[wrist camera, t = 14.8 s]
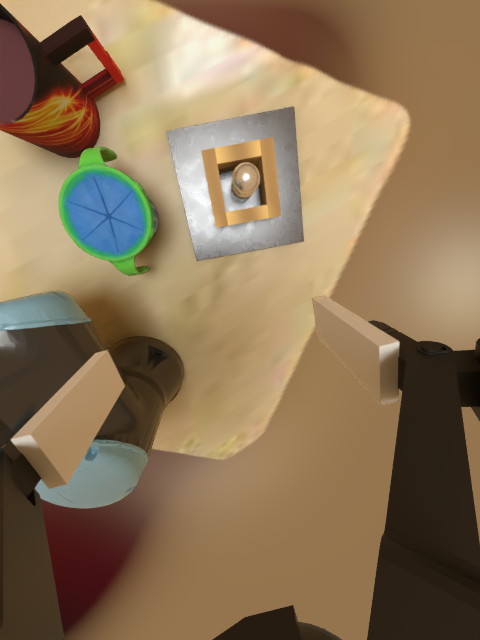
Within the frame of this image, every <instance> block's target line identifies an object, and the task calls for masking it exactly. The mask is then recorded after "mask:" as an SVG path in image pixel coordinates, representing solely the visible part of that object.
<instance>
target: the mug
mask: <svg viewBox="0 0 480 640" xmlns="http://www.w3.org/2000/svg"><path fill="white" fill-rule="evenodd" d="M86 45H88V46H89V47H90V48H91V50H92V51H93V52H94V54H95V55H96V56H97V58H98V59H99V60H100V62H101V63H102V64H103V65H104V67H105V68H106V69H104V70H103V71H101V72H100V73H98V74H97V75H95V76H94V77H92V78H90V79H89V80H87V81H86V82H84V83H83V84H81V83H80V82H79V81H78V80H77V79H76V78H75V77H74V76H73V75H72V74H71V73H70V72H69V71H68V70H67V69H66V68H65V67H64V66H63V65H62V64H61V62H62V61H64V60H65V59H67V58H68V57H70V56H71V55H73V54H74V53H76V52H77V51H79V50H80V49H81V48H83V47H84V46H86ZM123 80H124V78H123V76H122V74H121V72H120V70H119V68H118V67H117V65H116V64H115V62H114V61H113V60H112V58H111V57H110V55H109V54H108V52H107V51H105V49H104V48H103V47H102V45H101V44H100V42H99V41H98V39H97V38H96V36H95V35H94V33H93V32H92V31H91V29H90V28H89V26H88V25H87V23H86V22H85V20H84V19H83V17H82V16H81V15H80V16H79V17H77V18H75V19H73V20H72V21H70V22H69V23H68V24H66V25H65V26H63V27H62V28H60V29H59V30H57V31H56V32H55V33H53V34H52V35H50V36H49V37H47V38H46V39H45V40H43V41H42V42H39V41H38V40H37V39H36V38H35V37H34V36H33V35H32V34H31V33H30V32H29V31H28V30H27V29H26V28H25V27H24V26H23V25H22V24H21V23H20V22H19V21H18V20H17V19H15V18H14V17H13V16H12V15H11V14H10V13H9V12H8V11H7V10H6V9H5V8H4V7H3V6H2V5H1V4H0V130H2V131H4V132H6V133H9V134H11V135H13V136H16V137H18V138H20V139H23V140H25V141H27V142H30V143H32V144H34V145H37V146H39V147H42V148H44V149H46V150H49V151H51V152H53V153H56V154H58V155H60V156H64V157H68V158H77V157H80V156H81V154H82V152H83V151H84V150H86V149H88V148H93V147H94V146H95V145H96V143H97V140H98V138H99V133H100V118H99V112H98V110H97V107H96V104H95V102H94V100H93V98H95V97H96V96H98V95H100V94H101V93H103V92H104V91H106V90H107V89H109V88H110V87H112V86H114V85H115V84H117V83H119V82H121V81H123Z"/></svg>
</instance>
